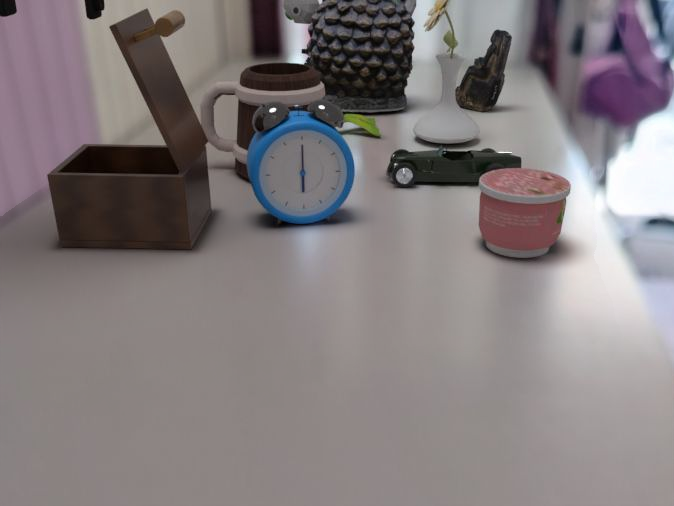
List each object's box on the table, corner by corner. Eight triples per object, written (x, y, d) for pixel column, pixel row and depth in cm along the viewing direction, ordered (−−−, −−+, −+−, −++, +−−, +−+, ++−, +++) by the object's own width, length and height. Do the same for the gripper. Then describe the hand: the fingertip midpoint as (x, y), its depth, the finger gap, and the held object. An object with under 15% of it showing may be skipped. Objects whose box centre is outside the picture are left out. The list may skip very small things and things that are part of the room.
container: (506, 269, 91) (514, 201, 87) (457, 237, 99) (462, 174, 95) (580, 253, 95) (590, 188, 91) (526, 224, 103) (534, 163, 99)
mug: (339, 158, 127) (339, 60, 120) (324, 189, 114) (323, 81, 107) (218, 153, 130) (210, 56, 122) (190, 183, 117) (179, 76, 109)
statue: (462, 101, 163) (467, 22, 155) (511, 111, 155) (519, 29, 148) (444, 106, 159) (450, 25, 152) (494, 116, 152) (502, 32, 144)
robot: (361, 108, 186) (259, 37, 188) (397, 49, 180) (291, -23, 183) (348, 105, 175) (239, 30, 177) (386, 42, 169) (273, -35, 172)
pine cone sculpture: (412, 100, 164) (417, -35, 151) (415, 118, 150) (422, -28, 138) (310, 99, 164) (307, -36, 151) (305, 117, 151) (302, -29, 138)
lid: (108, 26, 83) (154, 7, 82) (141, 10, 94) (182, -7, 93) (180, 174, 90) (223, 158, 89) (202, 143, 102) (241, 128, 100)
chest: (60, 247, 96) (46, 174, 91) (94, 210, 107) (83, 143, 102) (191, 249, 95) (183, 177, 91) (211, 212, 106) (206, 145, 102)
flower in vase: (422, 129, 144) (429, -24, 131) (484, 134, 140) (498, -22, 128) (401, 148, 133) (407, -17, 121) (469, 154, 130) (482, -14, 117)
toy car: (384, 169, 123) (385, 137, 120) (514, 170, 123) (518, 138, 120) (386, 189, 114) (388, 155, 112) (526, 190, 115) (530, 156, 112)
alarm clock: (253, 229, 101) (246, 109, 93) (249, 213, 106) (242, 97, 98) (355, 222, 103) (356, 104, 96) (345, 206, 108) (345, 93, 101)
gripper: (120, -163, 83) (138, 14, 92) (-44, -167, 84) (-11, 10, 92) (97, -168, 77) (118, 23, 85) (-80, -172, 77) (-41, 18, 86)
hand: (51, 16), depth 89 cm, fingers open, 9 cm apart
